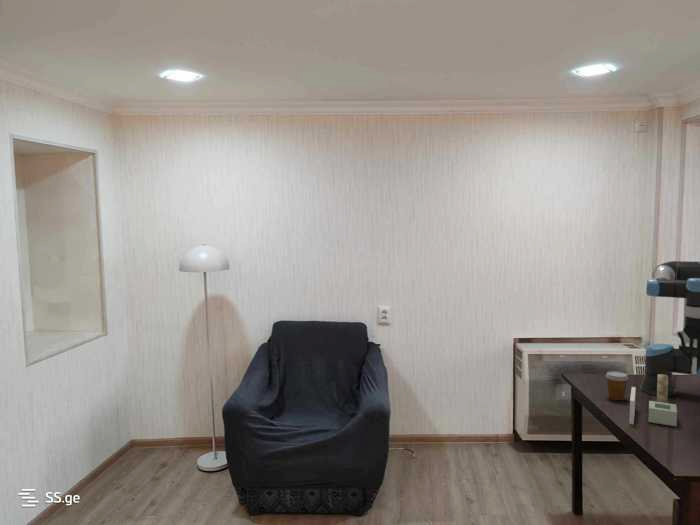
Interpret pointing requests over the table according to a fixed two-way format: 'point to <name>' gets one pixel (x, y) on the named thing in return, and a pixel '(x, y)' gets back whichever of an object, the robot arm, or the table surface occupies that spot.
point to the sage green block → (663, 413)
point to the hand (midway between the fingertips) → (693, 373)
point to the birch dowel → (662, 388)
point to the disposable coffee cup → (616, 384)
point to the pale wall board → (632, 405)
